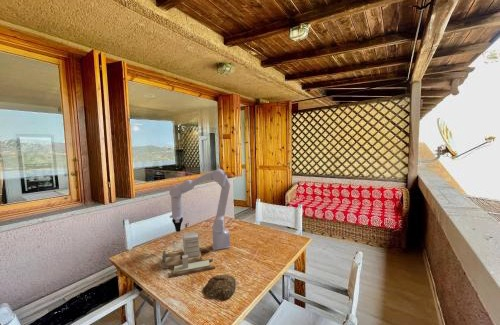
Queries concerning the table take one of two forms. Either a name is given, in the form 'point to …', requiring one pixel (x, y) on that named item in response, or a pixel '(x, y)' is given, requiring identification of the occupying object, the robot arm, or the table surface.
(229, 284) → the bread roll
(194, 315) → the table surface
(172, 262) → the wooden tray
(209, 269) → the lane frame
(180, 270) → the strip
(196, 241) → the supplement box
